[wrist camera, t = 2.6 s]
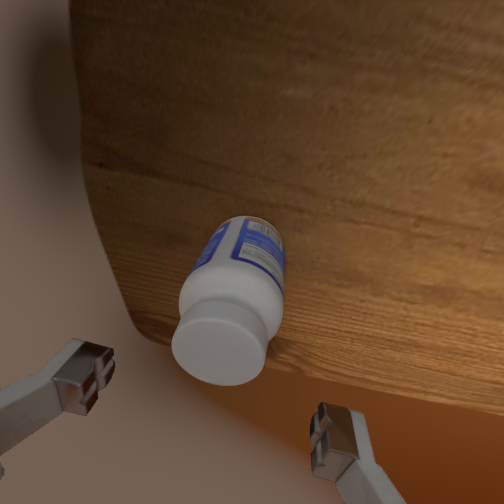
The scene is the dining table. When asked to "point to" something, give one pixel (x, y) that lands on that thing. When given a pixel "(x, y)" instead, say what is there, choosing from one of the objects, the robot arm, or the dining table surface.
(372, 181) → the dining table surface
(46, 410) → the robot arm
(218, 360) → the pill bottle
